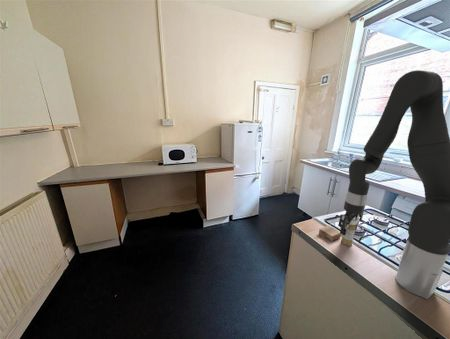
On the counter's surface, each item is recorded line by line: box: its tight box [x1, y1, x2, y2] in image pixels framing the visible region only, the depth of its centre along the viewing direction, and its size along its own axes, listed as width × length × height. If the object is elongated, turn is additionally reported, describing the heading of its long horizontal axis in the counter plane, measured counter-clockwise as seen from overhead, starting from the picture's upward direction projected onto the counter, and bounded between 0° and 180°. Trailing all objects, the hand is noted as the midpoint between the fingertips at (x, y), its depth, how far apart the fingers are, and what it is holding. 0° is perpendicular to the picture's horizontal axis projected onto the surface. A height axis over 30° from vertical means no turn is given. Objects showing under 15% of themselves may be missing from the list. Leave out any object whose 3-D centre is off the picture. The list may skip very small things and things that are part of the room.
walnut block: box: [318, 225, 342, 242], centre depth 92 cm, size 7×7×3 cm
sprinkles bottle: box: [341, 219, 358, 247], centre depth 85 cm, size 5×5×13 cm
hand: (348, 231), depth 85 cm, fingers open, 8 cm apart
